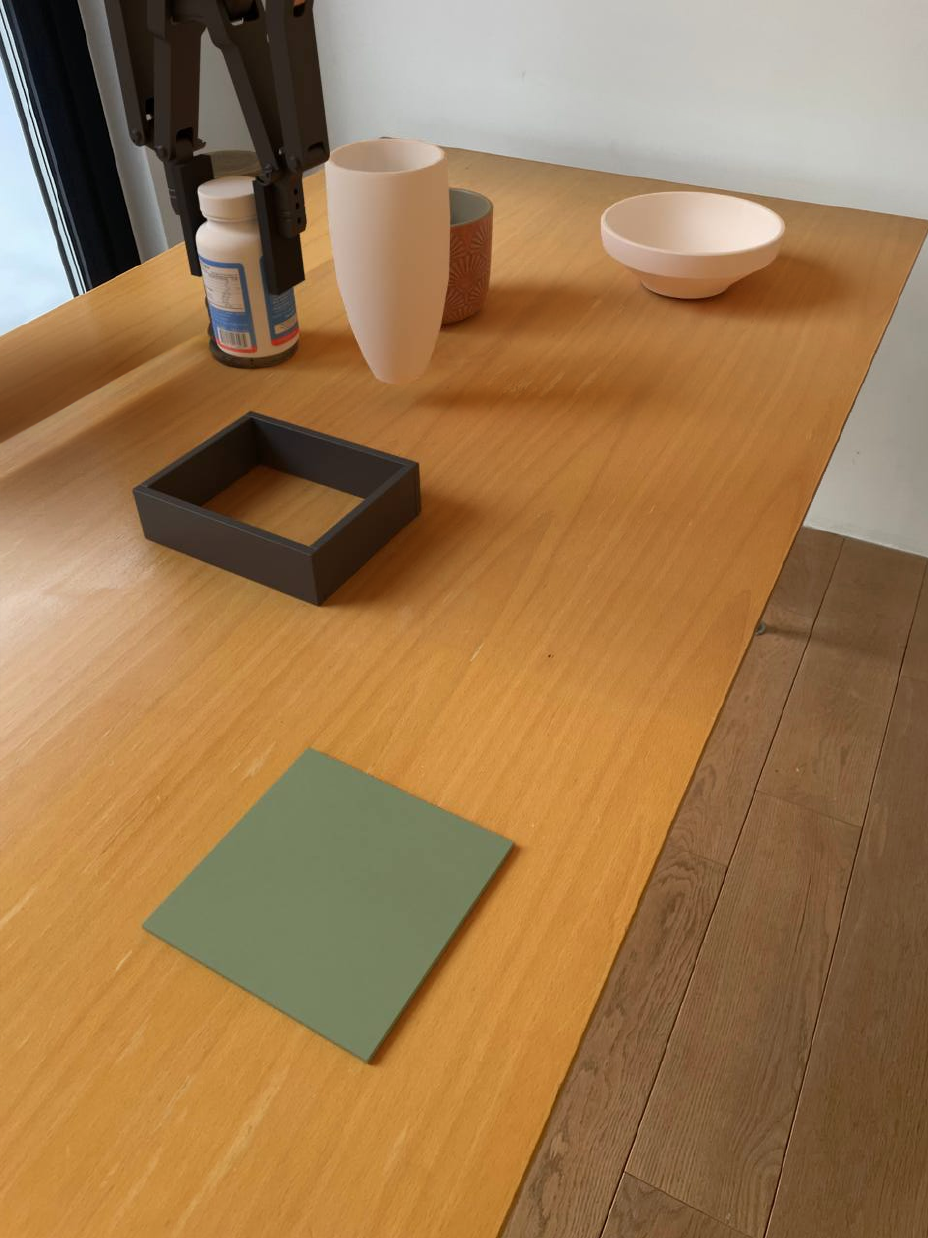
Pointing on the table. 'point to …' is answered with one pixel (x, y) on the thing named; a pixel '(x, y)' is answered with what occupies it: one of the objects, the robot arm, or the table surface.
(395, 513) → the frame
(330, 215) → the cup
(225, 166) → the container
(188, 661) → the table surface
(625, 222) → the bowl
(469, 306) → the planter
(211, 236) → the pill bottle
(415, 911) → the mat
